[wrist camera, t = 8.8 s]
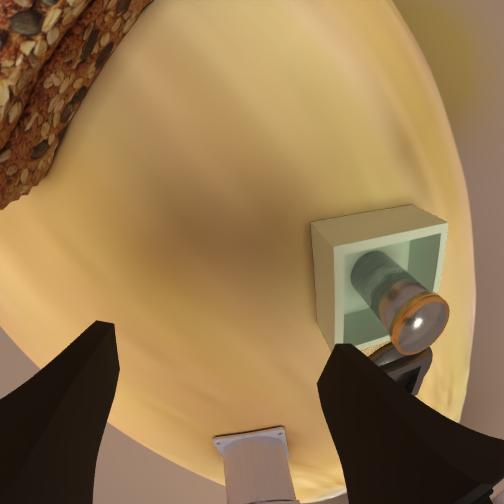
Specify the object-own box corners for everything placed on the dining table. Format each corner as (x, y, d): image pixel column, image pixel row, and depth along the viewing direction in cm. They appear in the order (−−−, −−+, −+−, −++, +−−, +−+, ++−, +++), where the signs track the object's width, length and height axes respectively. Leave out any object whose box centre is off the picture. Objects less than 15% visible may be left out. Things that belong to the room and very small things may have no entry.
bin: (405, 297, 22) (431, 325, 18) (316, 322, 22) (334, 358, 18) (412, 204, 19) (448, 222, 15) (310, 222, 18) (333, 246, 15)
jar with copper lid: (398, 248, 19) (457, 296, 13) (386, 293, 21) (434, 349, 14) (353, 247, 19) (409, 301, 12) (343, 296, 20) (386, 359, 14)
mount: (417, 385, 28) (425, 397, 26) (343, 412, 28) (349, 427, 26) (436, 324, 24) (448, 337, 22) (350, 355, 24) (359, 371, 22)
